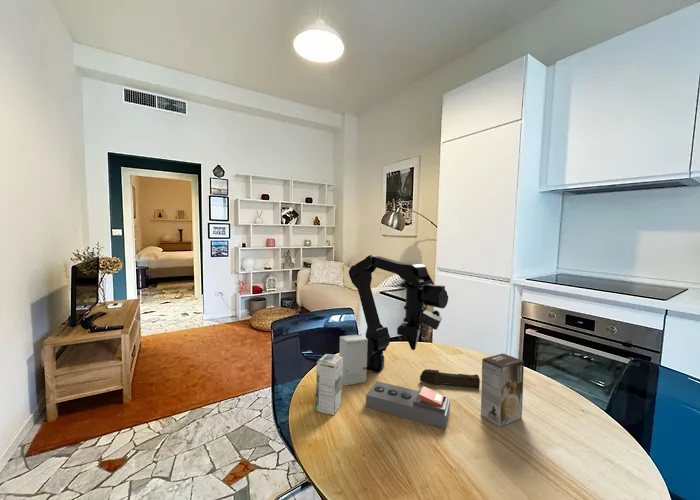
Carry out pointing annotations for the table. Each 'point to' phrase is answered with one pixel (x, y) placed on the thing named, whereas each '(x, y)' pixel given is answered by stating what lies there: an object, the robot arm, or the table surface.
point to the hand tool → (449, 378)
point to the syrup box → (329, 384)
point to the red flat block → (431, 396)
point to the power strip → (407, 404)
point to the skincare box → (353, 358)
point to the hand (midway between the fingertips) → (413, 349)
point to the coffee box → (502, 389)
